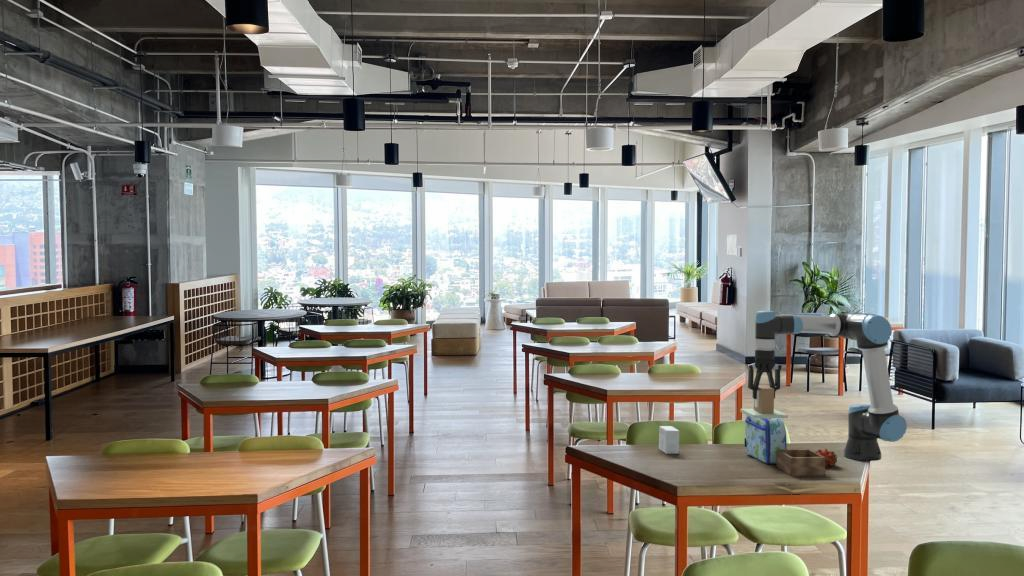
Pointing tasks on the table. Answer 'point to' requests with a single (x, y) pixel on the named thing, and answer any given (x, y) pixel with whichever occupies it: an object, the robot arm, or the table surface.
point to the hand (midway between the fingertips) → (763, 406)
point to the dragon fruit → (828, 457)
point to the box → (800, 462)
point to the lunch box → (765, 438)
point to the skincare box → (668, 439)
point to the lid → (764, 405)
